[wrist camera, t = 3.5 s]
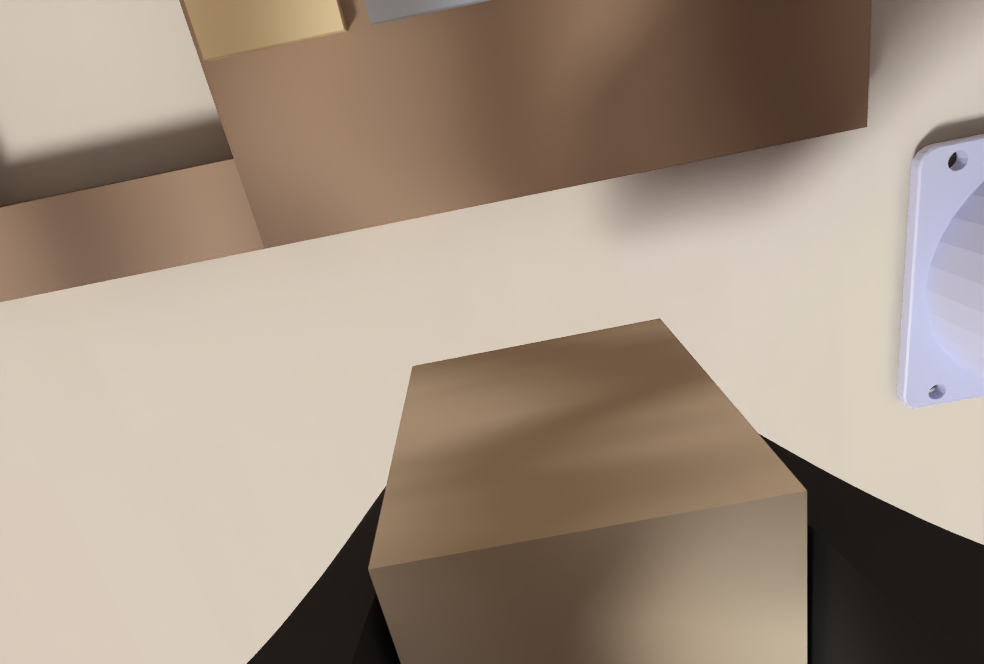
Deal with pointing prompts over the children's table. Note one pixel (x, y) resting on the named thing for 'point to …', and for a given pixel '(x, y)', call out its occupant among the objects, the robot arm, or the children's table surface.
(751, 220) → the children's table surface
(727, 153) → the puzzle board
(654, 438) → the maple block
